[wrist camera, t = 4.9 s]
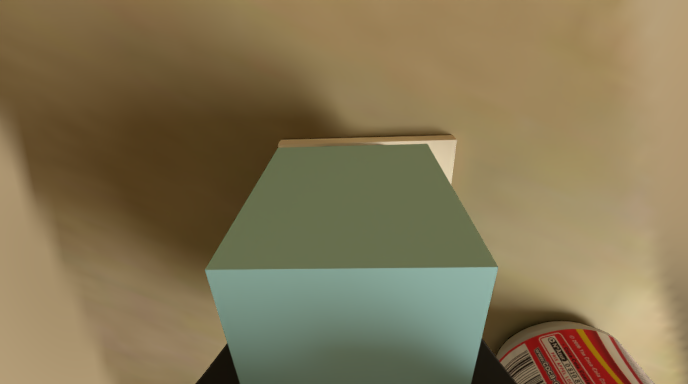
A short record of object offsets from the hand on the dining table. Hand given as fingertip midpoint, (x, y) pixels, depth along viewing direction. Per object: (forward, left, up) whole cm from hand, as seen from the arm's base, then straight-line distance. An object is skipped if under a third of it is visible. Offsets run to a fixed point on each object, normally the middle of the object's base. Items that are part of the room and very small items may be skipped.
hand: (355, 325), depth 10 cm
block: (0, 0, -3) cm, 3 cm away
